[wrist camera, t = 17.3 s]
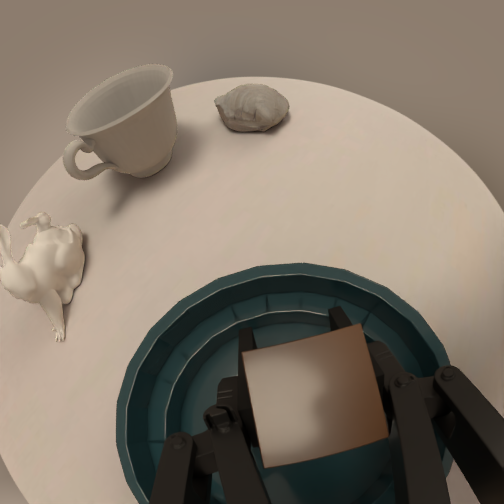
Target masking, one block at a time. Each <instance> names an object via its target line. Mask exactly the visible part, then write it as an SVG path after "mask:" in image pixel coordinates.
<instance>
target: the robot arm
mask: <svg viewBox="0 0 504 504" xmlns="http://www.w3.org/2000/svg"><path fill="white" fill-rule="evenodd" d="M328 313H329V320H330V328H331V331H334V330H338V329H341V328H345V327H349V326H352V325H353V324H352V323H351V321H350V320H349V318H348V316H347V315H346V313H345V312H344V310H343V309H342V307H341V306H338V307H334V308H330V309H328ZM367 347H368V351H369V354H370V358H371V362H372V365H373V369H374V373H375V377H376V381H377V385H378V389H379V393H380V397H381V401H382V405H383V410H384V412H385V414H386V423H387V428H388V433H389V437H388V440H389V447H390V455H391V463H392V471H393V480H394V491H395V503H396V504H451V503H450V497H449V492H448V487H447V482H446V478H445V473H444V469H443V465H442V460H441V456H440V452H439V449H438V445H437V441H436V437H435V434H434V430H433V427H434V429H435V430H436V432H437V433H438V435H439V437H440V438H441V440H442V441H443V443H444V444H445V446H446V447H447V449H448V451H449V452H450V454H451V455H452V457H453V459H454V460H455V462H456V463H457V465H458V467H459V468H460V470H461V472H462V473H463V475H464V476H465V478H466V480H467V481H468V483H469V485H470V487H471V488H472V490H473V492H474V493H475V495H476V497H477V498H478V500H479V502H480V504H504V418H503V417H502V416H501V415H500V414H499V413H498V411H497V410H496V409H495V408H494V407H493V406H492V405H491V403H490V402H489V401H488V400H487V399H486V398H485V397H484V396H483V395H482V393H481V392H480V391H479V390H478V389H477V388H476V387H475V386H474V385H473V384H472V382H471V381H470V380H469V379H468V378H467V377H466V376H465V375H464V374H463V373H462V372H461V371H460V370H459V369H458V368H457V367H455V366H451V365H446V366H442V367H440V368H438V369H437V370H436V372H435V373H434V376H431V377H424V378H417V377H416V376H415V375H413V374H412V373H408V372H405V370H404V369H403V367H402V366H401V365H400V363H399V362H398V361H397V359H396V358H395V356H393V354H392V352H391V351H390V350H389V348H388V347H387V346H386V344H384V343H382V342H380V341H379V340H378V341H374V342H371V343H368V344H367ZM254 349H257V345H256V341H255V338H254V334H253V330H252V327H249V328H244V329H240V330H239V340H238V376H233V377H227V378H222V380H221V381H220V383H219V384H218V389H217V400H216V404H215V405H213V406H210V407H209V408H208V409H206V410H205V412H204V414H203V420H204V422H205V424H206V426H207V428H208V430H206V431H205V432H202V433H200V434H197V435H194V436H191V435H190V434H188V433H186V432H177V433H174V434H172V435H170V436H169V437H168V438H167V439H166V440H165V442H164V445H163V449H162V453H161V457H160V461H159V465H158V469H157V473H156V477H155V481H154V485H153V489H152V493H151V497H150V502H149V504H210V496H211V485H212V474H213V473H215V472H219V476H220V480H221V484H222V488H223V492H224V495H225V499H226V503H227V504H272V502H271V500H270V497H269V495H268V492H267V490H266V487H265V485H264V482H263V480H262V477H261V475H260V472H259V469H258V467H257V464H256V461H255V459H254V456H253V454H252V451H251V445H252V447H253V448H255V447H259V444H258V439H257V434H256V429H255V424H254V419H253V414H252V409H251V403H250V398H249V393H248V388H247V382H246V377H245V372H244V366H243V361H242V355H241V352H243V351H249V350H254ZM432 426H433V427H432Z"/></svg>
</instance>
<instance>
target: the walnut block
mask: <svg viewBox="0 0 504 504" xmlns="http://www.w3.org/2000/svg"><path fill="white" fill-rule="evenodd" d="M241 355H242V361H243V366H244V372H245V377H246V382H247V388H248V393H249V398H250V403H251V409H252V414H253V419H254V424H255V429H256V434H257V439H258V444H259V449H260V453H261V458H262V463H263V468H264V469H267V468H273V467H279V466H285V465H290V464H295V463H300V462H305V461H310V460H314V459H318V458H322V457H326V456H330V455H334V454H338V453H341V452H345V451H348V450H352V449H355V448H358V447H361V446H364V445H367V444H370V443H373V442H376V441H379V440H382V439H385V438H387V437H389V433H388V428H387V423H386V419H385V414H384V410H383V405H382V401H381V397H380V393H379V389H378V385H377V381H376V377H375V373H374V369H373V365H372V362H371V358H370V354H369V351H368V347H367V343H366V340H365V336H364V333H363V330H362V326H361V324H360V323H359V324H356V325H352V326H349V327H345V328H341V329H338V330H334V331H330V332H327V333H323V334H319V335H315V336H311V337H307V338H303V339H299V340H295V341H290V342H286V343H282V344H277V345H273V346H268V347H263V348H258V349H254V350H249V351H243V352H241Z"/></svg>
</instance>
